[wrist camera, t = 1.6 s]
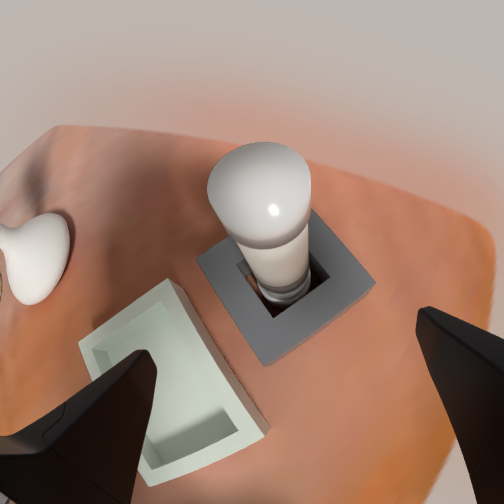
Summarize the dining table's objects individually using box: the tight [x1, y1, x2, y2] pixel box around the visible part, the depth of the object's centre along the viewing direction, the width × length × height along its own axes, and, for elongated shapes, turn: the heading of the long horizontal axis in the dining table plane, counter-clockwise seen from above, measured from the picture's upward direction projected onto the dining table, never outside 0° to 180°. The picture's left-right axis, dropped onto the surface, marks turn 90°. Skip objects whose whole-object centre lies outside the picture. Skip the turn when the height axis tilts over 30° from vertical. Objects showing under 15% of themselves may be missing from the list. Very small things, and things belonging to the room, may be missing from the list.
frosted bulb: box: [207, 142, 311, 308], centre depth 16 cm, size 4×4×13 cm
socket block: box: [195, 208, 376, 366], centre depth 21 cm, size 9×9×3 cm
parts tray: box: [78, 278, 271, 487], centre depth 19 cm, size 13×10×3 cm
